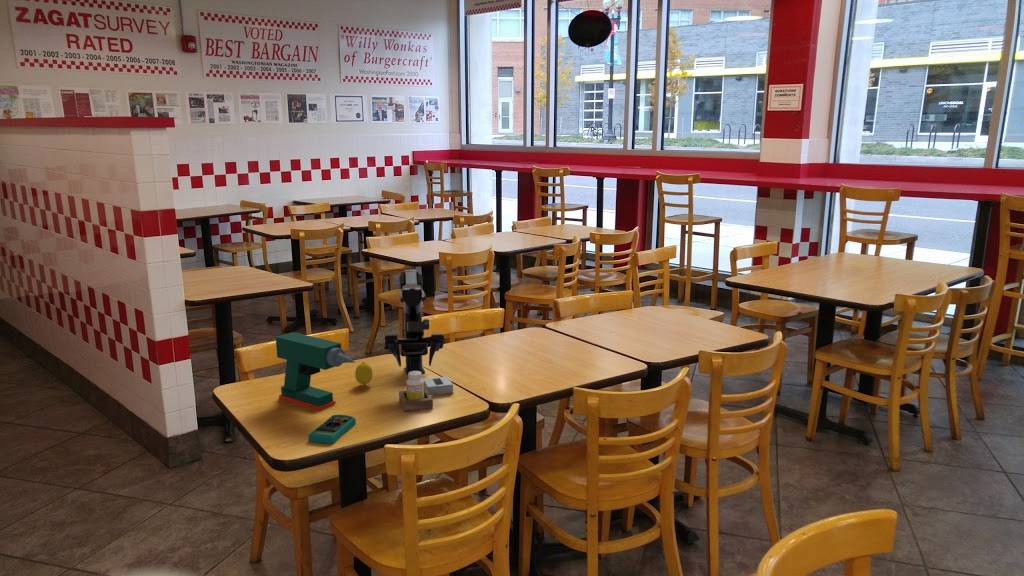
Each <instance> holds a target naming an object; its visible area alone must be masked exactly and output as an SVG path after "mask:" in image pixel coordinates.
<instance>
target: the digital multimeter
mask: <svg viewBox="0 0 1024 576" xmlns="http://www.w3.org/2000/svg"><path fill="white" fill-rule="evenodd" d="M356 422H357V421H356V417H354V416H351V415H347V414H332V415H331V416H330V417H329V418H328V419H326V420H325V421H324V422H323V423H321V424H320V425H319V426H317V427H316V428H315V429H313V430H312V431H311V432H310V433H308V436H307V437H308V442H310V443H315V442H316V443H317V444H325V445H326V444H327V445H333V444H335V442H337V441H338V440H339V439H340V438H341V437H342V436H343V435H344V434H346V433H347V432H348V431H349V430H350V429H351V428H353V427H354V426H356V424H357V423H356ZM316 443H315V444H316Z"/></svg>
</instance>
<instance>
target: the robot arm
mask: <svg viewBox="0 0 1024 576" xmlns="http://www.w3.org/2000/svg"><path fill="white" fill-rule="evenodd" d="M398 278H399V279H398V280H399V285H398V287H399V290H400V292H399V293H400V294H399V295H400V303H402V305H403V322H404V323H403V326H404V329H403V332H402V337H400V338H399V337H398V334H396V333H395V334H394V333H393V334H392V333H390V334H385V335H384V337H383V338H384V339H383V350H385V351H386V350H387V351H388V352H389V353H390V352H391V353H392V355H393V357H394V358H395V360H396V362H397V365H398V366H399V368H401V367H402V360H401V357H405V367H403V371H404V373H405V375H406V374H407V375H408V373H409V372H411V371H420V372H421V373H422V374H425V373H426V370H425V369H424V368H423V356H427V355H428V354H429V355H428V356H429V357H428V358H429V359H428V366H429V367H431V365H432V361H433V358H434V356H435V353H436V352H438V351H440V349H443V348H444V346H445V345H444V343H445V335H444V334H443V333H431V335H430V337H424V335H425V331H428V330H430V319H429V318H424V319H423V315H422V312H423V311H422V309H423V307H422V305H423V303H424V302H425V301H426V300H427V296H426V293H425V291H424V290H423V286H424V283H423V281H424V280H423V275H422V274H421V273H419V271H418V269H405V270H403V273H402V274H401V275H399V276H398ZM429 345H430V347H429ZM399 346H400V347H399ZM400 348H401V352H400Z"/></svg>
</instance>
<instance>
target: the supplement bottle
mask: <svg viewBox="0 0 1024 576" xmlns="http://www.w3.org/2000/svg"><path fill="white" fill-rule="evenodd" d="M407 377H408V379H407V380H406V381H405V382H406V383H405V384H406V388H405V389H406V391H407V400H414V399H423V398H424V380H423V379H424V378H422V377H423V373H421V372H420V371H411V372H409V373H408V376H407Z"/></svg>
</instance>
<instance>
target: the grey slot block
mask: <svg viewBox="0 0 1024 576" xmlns="http://www.w3.org/2000/svg"><path fill="white" fill-rule="evenodd" d="M422 379H423V380H424V389H427V391H428V392H429V394H430V395H434V396H437V395H436V394H443V395H447V394H446V393H452V394H454V384H453V383H452V381H451V379H450V378H449V376H439V377H429V378H422Z"/></svg>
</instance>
